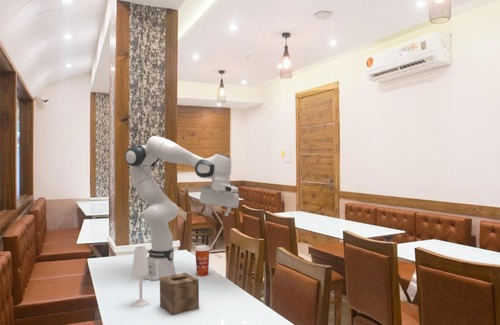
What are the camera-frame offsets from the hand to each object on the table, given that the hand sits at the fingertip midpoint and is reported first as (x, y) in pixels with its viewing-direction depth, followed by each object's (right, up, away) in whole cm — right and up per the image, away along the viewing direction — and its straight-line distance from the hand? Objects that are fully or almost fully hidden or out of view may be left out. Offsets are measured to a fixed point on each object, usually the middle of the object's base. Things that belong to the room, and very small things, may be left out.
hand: (217, 214), depth 185 cm
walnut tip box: (-14, -35, -28) cm, 47 cm away
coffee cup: (-10, -35, +18) cm, 41 cm away
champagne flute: (-31, -35, -23) cm, 52 cm away
